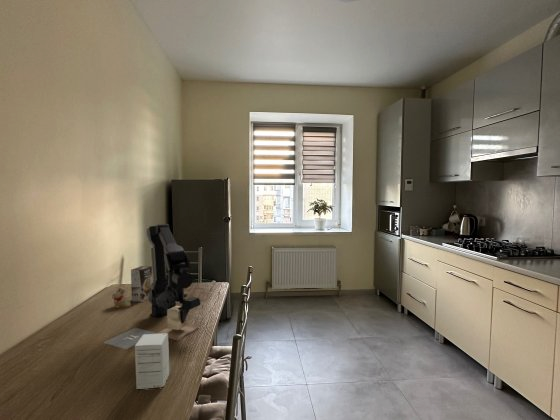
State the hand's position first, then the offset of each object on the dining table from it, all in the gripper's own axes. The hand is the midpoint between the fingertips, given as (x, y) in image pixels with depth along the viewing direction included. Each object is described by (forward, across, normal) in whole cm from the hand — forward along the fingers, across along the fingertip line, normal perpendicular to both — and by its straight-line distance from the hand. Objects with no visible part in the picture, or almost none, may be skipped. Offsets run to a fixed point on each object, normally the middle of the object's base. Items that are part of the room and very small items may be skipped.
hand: (177, 322), depth 124 cm
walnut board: (+4, 0, 0) cm, 4 cm away
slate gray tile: (+4, -12, -11) cm, 17 cm away
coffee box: (+4, -45, +23) cm, 51 cm away
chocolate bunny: (+4, -45, +11) cm, 47 cm away
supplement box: (+4, +18, -28) cm, 33 cm away
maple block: (+2, 0, 0) cm, 2 cm away
